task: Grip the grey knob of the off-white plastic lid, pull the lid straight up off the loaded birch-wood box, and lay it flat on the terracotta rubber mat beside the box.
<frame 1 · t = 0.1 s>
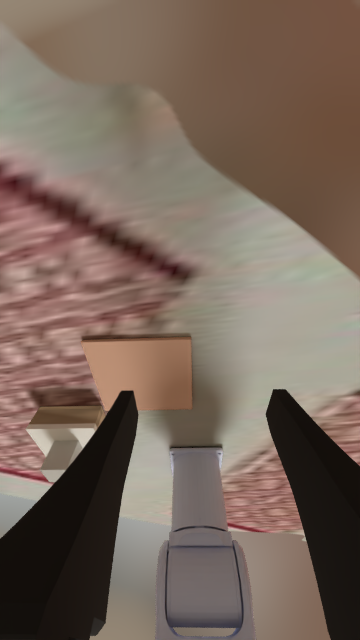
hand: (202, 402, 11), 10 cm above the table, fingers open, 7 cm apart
lid: (72, 442, 28), point 2 cm above the table, touching box
box: (79, 424, 30), on the table
mat: (143, 376, 25), on the table
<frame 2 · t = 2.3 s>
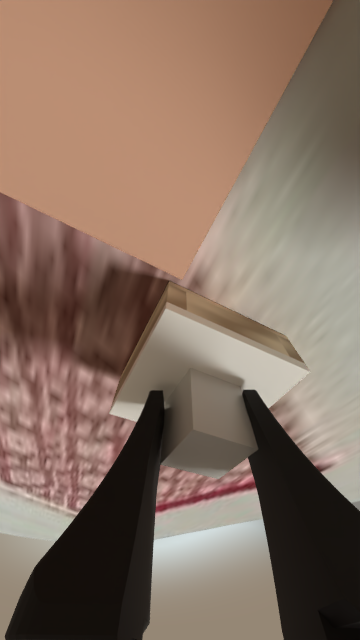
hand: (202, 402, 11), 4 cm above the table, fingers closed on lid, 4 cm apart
lid: (200, 385, 12), point 2 cm above the table, touching box, gripper
box: (198, 357, 14), on the table
mat: (112, 72, 7), on the table
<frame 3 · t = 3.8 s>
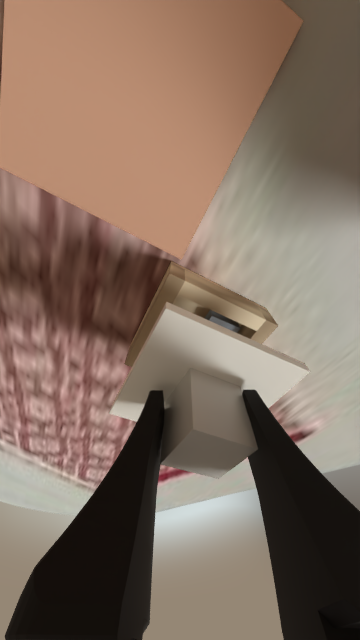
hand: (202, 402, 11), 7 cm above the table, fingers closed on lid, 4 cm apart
lid: (200, 385, 12), point 6 cm above the table, touching gripper
box: (194, 327, 17), on the table
mat: (132, 105, 11), on the table
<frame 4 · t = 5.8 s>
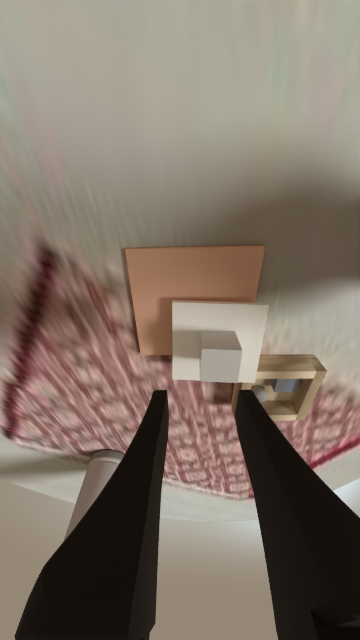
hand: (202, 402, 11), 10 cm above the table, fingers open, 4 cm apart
lid: (215, 342, 20), point 2 cm above the table, tilted 9°, touching box, mat
box: (269, 381, 25), on the table
travel mug: (111, 457, 35), on the table
mat: (193, 307, 20), on the table
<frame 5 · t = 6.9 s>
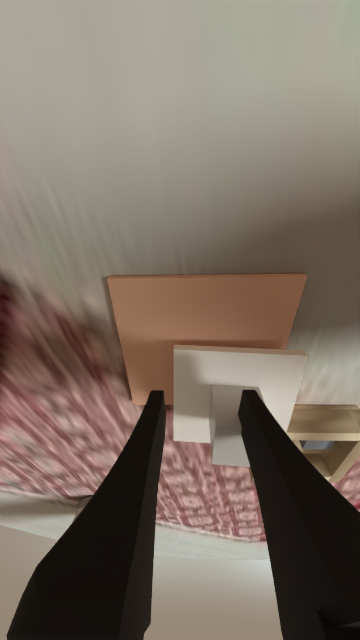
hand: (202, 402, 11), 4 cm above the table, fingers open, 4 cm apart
lid: (231, 397, 15), point 2 cm above the table, tilted 9°, touching box, gripper, mat
box: (295, 432, 20), on the table
mat: (202, 349, 15), on the table
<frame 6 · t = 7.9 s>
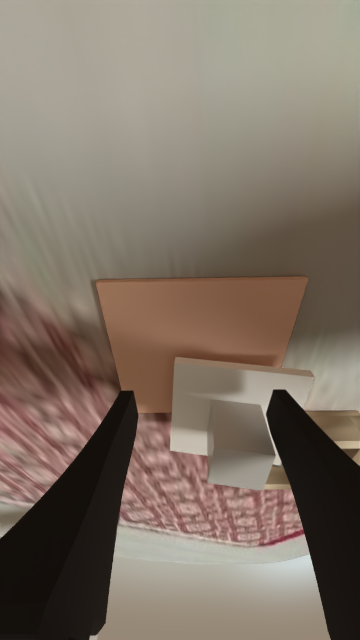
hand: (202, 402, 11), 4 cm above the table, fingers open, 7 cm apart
lid: (231, 411, 15), point 2 cm above the table, tilted 9°, touching box, mat
box: (294, 438, 20), on the table
mat: (198, 356, 14), on the table
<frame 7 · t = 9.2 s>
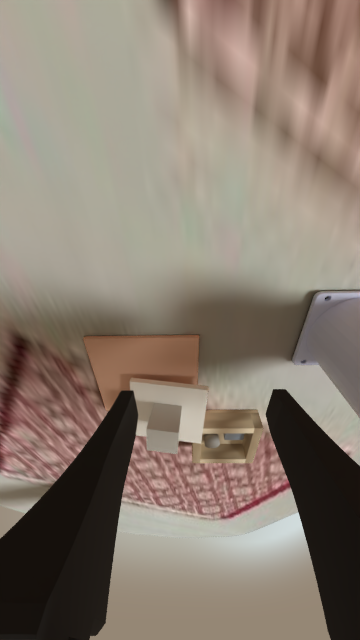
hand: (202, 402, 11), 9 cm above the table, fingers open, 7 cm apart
lid: (168, 410, 24), point 2 cm above the table, tilted 9°, touching box, mat
box: (222, 428, 29), on the table
mat: (147, 376, 24), on the table
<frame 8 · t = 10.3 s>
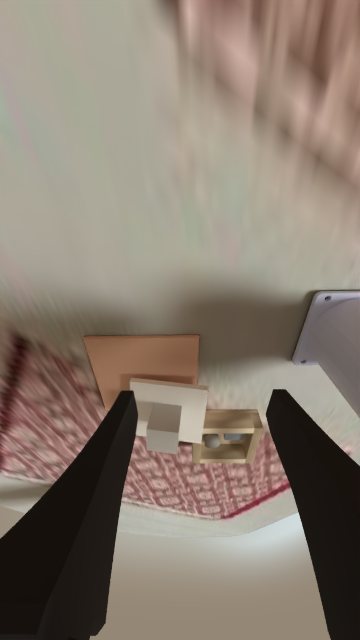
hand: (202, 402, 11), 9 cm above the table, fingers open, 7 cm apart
lid: (168, 410, 24), point 2 cm above the table, tilted 9°, touching box, mat
box: (222, 428, 29), on the table
mat: (147, 376, 24), on the table
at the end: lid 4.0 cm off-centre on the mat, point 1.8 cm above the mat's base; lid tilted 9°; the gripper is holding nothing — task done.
